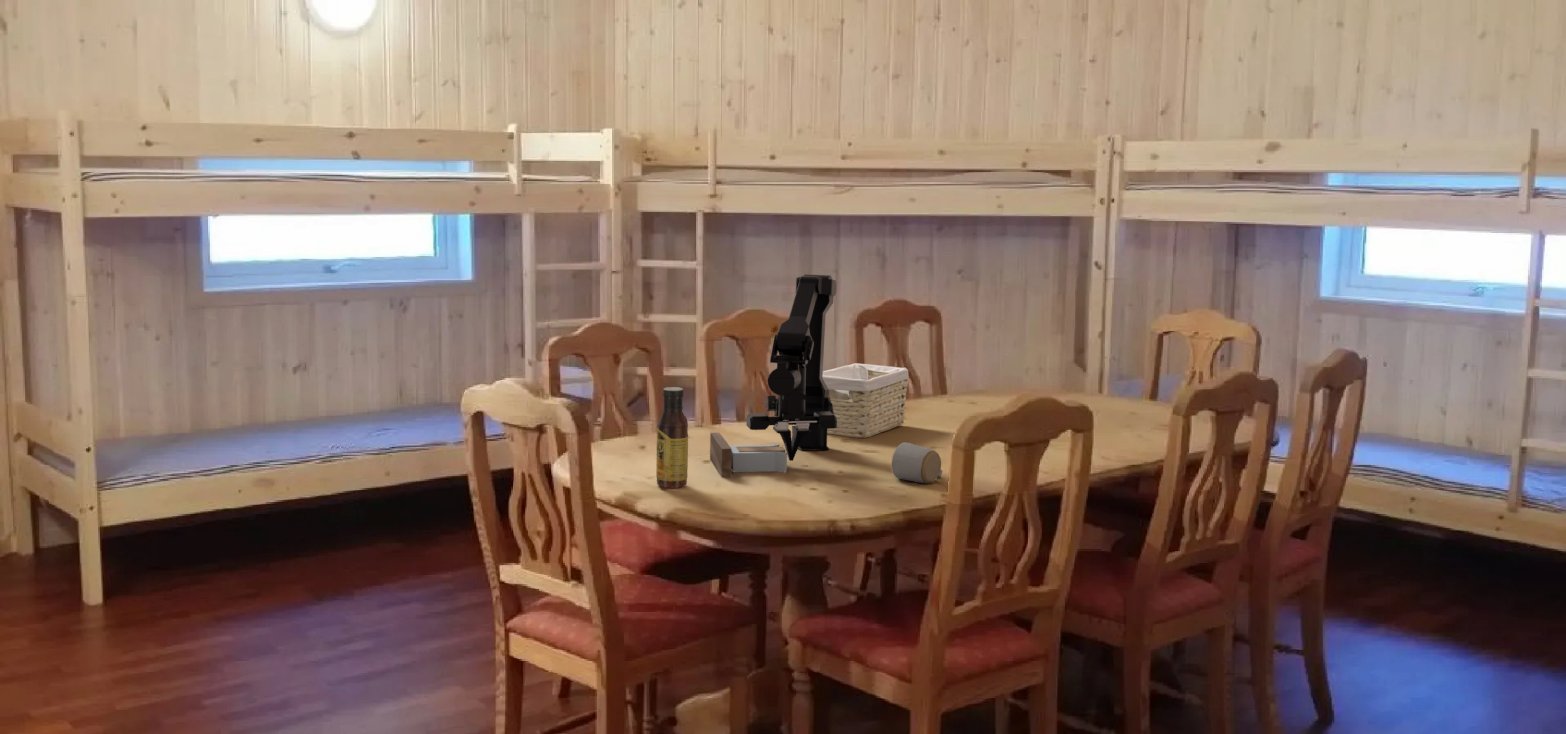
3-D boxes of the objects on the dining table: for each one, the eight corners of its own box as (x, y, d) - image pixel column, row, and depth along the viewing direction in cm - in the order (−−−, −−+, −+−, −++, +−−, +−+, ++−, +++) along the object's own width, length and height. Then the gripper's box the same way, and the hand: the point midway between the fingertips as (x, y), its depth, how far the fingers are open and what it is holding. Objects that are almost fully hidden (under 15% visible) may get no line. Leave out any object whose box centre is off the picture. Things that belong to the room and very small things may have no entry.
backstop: (719, 459, 316) (719, 432, 315) (731, 477, 298) (731, 448, 297) (710, 459, 315) (710, 432, 315) (721, 477, 298) (721, 448, 297)
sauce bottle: (656, 482, 292) (657, 385, 289) (687, 482, 293) (688, 385, 290) (656, 489, 286) (657, 390, 283) (687, 489, 286) (688, 390, 283)
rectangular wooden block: (781, 464, 312) (781, 446, 311) (785, 468, 308) (785, 450, 307) (735, 465, 310) (736, 447, 309) (738, 469, 306) (738, 451, 305)
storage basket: (866, 440, 341) (868, 379, 339) (806, 433, 350) (807, 372, 347) (909, 426, 362) (911, 367, 360) (852, 419, 370) (854, 362, 368)
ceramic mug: (923, 487, 293) (924, 449, 292) (889, 480, 298) (891, 444, 297) (951, 480, 301) (953, 443, 300) (918, 474, 306) (920, 438, 305)
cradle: (778, 461, 314) (778, 443, 314) (787, 472, 304) (787, 453, 304) (726, 462, 312) (727, 444, 312) (734, 473, 302) (734, 454, 301)
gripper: (826, 382, 317) (825, 451, 319) (742, 383, 313) (741, 453, 315) (838, 390, 306) (836, 462, 308) (751, 391, 302) (750, 464, 305)
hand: (790, 460), depth 309 cm, fingers closed
